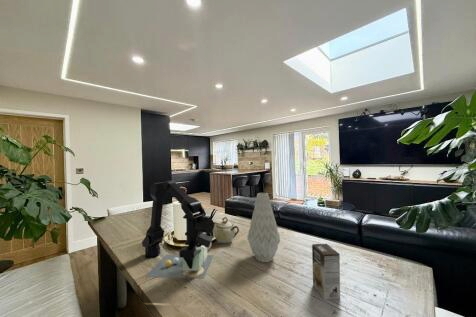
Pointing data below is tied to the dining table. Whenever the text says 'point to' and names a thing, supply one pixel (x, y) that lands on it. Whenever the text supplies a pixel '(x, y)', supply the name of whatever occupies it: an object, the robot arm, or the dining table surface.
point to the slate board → (176, 268)
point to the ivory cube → (204, 252)
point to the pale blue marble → (175, 260)
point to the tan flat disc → (193, 272)
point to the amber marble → (168, 263)
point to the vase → (263, 230)
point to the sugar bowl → (225, 231)
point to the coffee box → (326, 271)
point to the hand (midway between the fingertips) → (193, 264)
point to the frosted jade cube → (195, 260)
